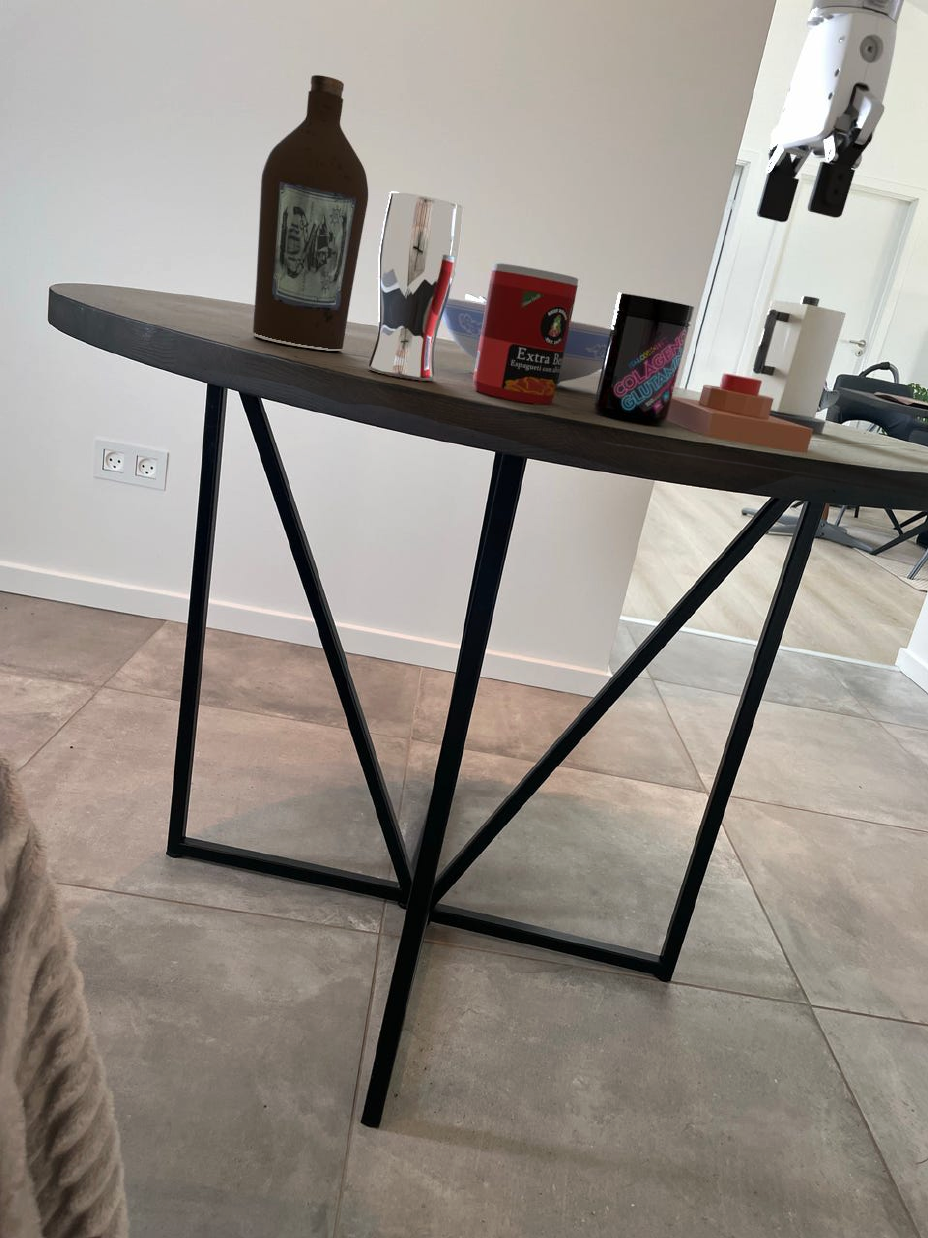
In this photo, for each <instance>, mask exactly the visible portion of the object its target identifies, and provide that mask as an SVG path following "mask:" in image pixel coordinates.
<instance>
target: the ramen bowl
mask: <svg viewBox="0 0 928 1238" xmlns="http://www.w3.org/2000/svg"><path fill="white" fill-rule="evenodd" d="M466 300H469V301H466ZM486 300H487V297H485V296H481V295H480V296H479V298H478V297H476V296H474V295H472V294H470V293H465V298H464V300H461V299H455V298H450V297H449V298H448V301H447V304H446V307H445V309H444V312H443V315H442V320H443V321H444V324H445V326H446V328H447V330H448V332H449V335H450V336H451V337H452V339H453V341H454V342H455V344H457V346H458V347H459V348H460V349H462V351H463V352H465V354H467V355H469V356H470V357H471V358H472V359H474V360H475V361H476V359H477V353H478V347H479V341H480V335H481V329H482V324H483V318H484V312H485V306H486ZM477 302H479V303H477ZM610 330H611V327H606V326H599V325H594V324H590V323H583V322H580V321H574V320H571V322H570V327H569V331H568V336H567V341H566V346H565V350H564V355H563V360H562V365H561V369H560V374H559V379H558V384H557V385H559V384H560V383H562V382H568V381H572V380H576V379H580V378H583V377H588V376H590V375H592V374H595V373H597V372H598V371H600V370H602V366H603V361H604V357H605V352H606V348H607V343H608V339H609V334H610Z"/></svg>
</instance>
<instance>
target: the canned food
mask: <svg viewBox="0 0 928 1238" xmlns="http://www.w3.org/2000/svg"><path fill="white" fill-rule="evenodd" d="M578 283H579V278H578V277H575V276H573V275H568V274H563V273H559V272H555V271H549V270H543V269H538V268H533V267H529V266H521V265H516V264H509V263H502V262H495V263H493V266H492V269H491V273H490V280H489V283H488V290H487V295H486V299H487V300H486V303H485V305H486V306H485V312H484V318H483V324H482V329H481V335H480V341H479V347H478V353H477V359H476V360H475V366H474V370H473V377H472V382H473V389H474V391H475V392H477V391H478V392H477V393H479V394H483V395H486V396H491V397H494V398H498V399H502V400H508V401H512V402H519V403H524V404H530V405H551V404H552V402H553V400H554V398H555V396H556V394H557V388H558V385H559V384H558V379H559V374H560V369H561V365H562V360H563V355H564V350H565V346H566V341H567V336H568V331H569V327H570V322H571V321H572V317H573V311H574V307H575V302H576V298H577V297H576V296H577V292H578V287H579V285H578Z"/></svg>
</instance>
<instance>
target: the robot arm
mask: <svg viewBox="0 0 928 1238" xmlns="http://www.w3.org/2000/svg"><path fill="white" fill-rule="evenodd" d="M904 1H905V0H812V4H811V8H810V11H809V15H808V19H807V22H806V25H807V28H808V29H809V32H808V35H807V37H806V40H805V41H804V45H803V48H802V50H801V53H800V56H799V58H798V61H797V64H796V67H795V70H794V73H793V77H792V80H791V82H790V85H789V89H788V91H787V95H786V98H785V101H784V106H783V108H782V112H781V116H780V120H779V124H777V126H776V127H775V128H774V129H773V130H772V132H771V138H770V139H771V142H770V149H769V153H768V161H769V162H768V164H767V166H766V177H765V180H764V185H763V188H762V191H761V195H760V199H759V203H758V207H757V210H756V215H757V217H759V218H762V219H767V220H771V221H774V222H780V223H786V222H787V221H788V220H789V217H790V214H791V210H792V206H793V203H794V199H795V196H796V193H797V188H798V186H799V183H800V178H796V176H797V175H798V174H799V172H800V171H801V169H802V167H803V165H805V162H806V161H807V159H808V158H809V156H810V155H811V156H812V157H813V158H815V159H824V158H825V160H826V161H820V163H819V166H818V168H817V173H816V176H815V179H814V183H813V187H812V190H811V193H810V197H809V201H808V203H807V210H808V212H810V213H814V214H817V215H822V216H825V217H829V218H835V219H836V218H840V217H841V216H842V215H843V213H844V208H845V206H846V203H847V199H848V196H849V192H850V189H851V185H852V183H853V179H854V175H855V173H856V170H857V169H858V168H859V167H860V165H861V162H862V161H863V155H862V154H863V153H864V151H865V150H866V149H867V147H868V146H869V144H870V143H871V142H872V140H873V138H874V134H875V132H876V128H877V126H878V124H879V122H880V120H881V118H882V116H883V114H884V112H885V105H884V104H883V102H884V99H885V94H886V90H887V87H888V82H889V78H890V74H891V69H892V64H893V59H894V54H895V47H896V41H897V30H898V21H899V19H900V15H901V11H902V8H903V5H904ZM792 155H794V156H795V157H794V159H793V160H792Z"/></svg>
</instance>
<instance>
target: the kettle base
mask: <svg viewBox="0 0 928 1238" xmlns="http://www.w3.org/2000/svg"><path fill="white" fill-rule="evenodd" d="M769 416H772V417H775V418H779V419H782V420H785V421H788V422H792V423H795V424H798V425H801V426H804V427H808V428H811V429H813V433H812V435H817V436H821V435H822V434H823V432H824V428H825V425H826V421H825V420H822V419H819V418H816V417H814V418H813V417H806V416H799V415H793V414H786V413H780V412H775V411H771V410H770V414H769Z"/></svg>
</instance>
